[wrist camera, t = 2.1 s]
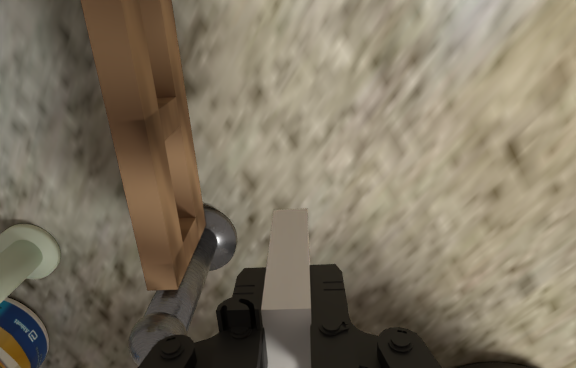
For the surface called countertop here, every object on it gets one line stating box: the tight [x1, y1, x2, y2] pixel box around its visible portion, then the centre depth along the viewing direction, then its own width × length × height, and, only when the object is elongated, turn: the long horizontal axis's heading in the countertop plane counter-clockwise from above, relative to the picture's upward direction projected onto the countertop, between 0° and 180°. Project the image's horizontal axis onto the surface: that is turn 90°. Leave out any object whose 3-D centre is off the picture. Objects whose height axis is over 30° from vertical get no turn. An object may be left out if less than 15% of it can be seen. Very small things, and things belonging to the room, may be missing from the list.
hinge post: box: [129, 207, 237, 366], centre depth 25 cm, size 5×5×12 cm
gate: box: [81, 0, 206, 291], centre depth 22 cm, size 16×2×7 cm, turn 3°
